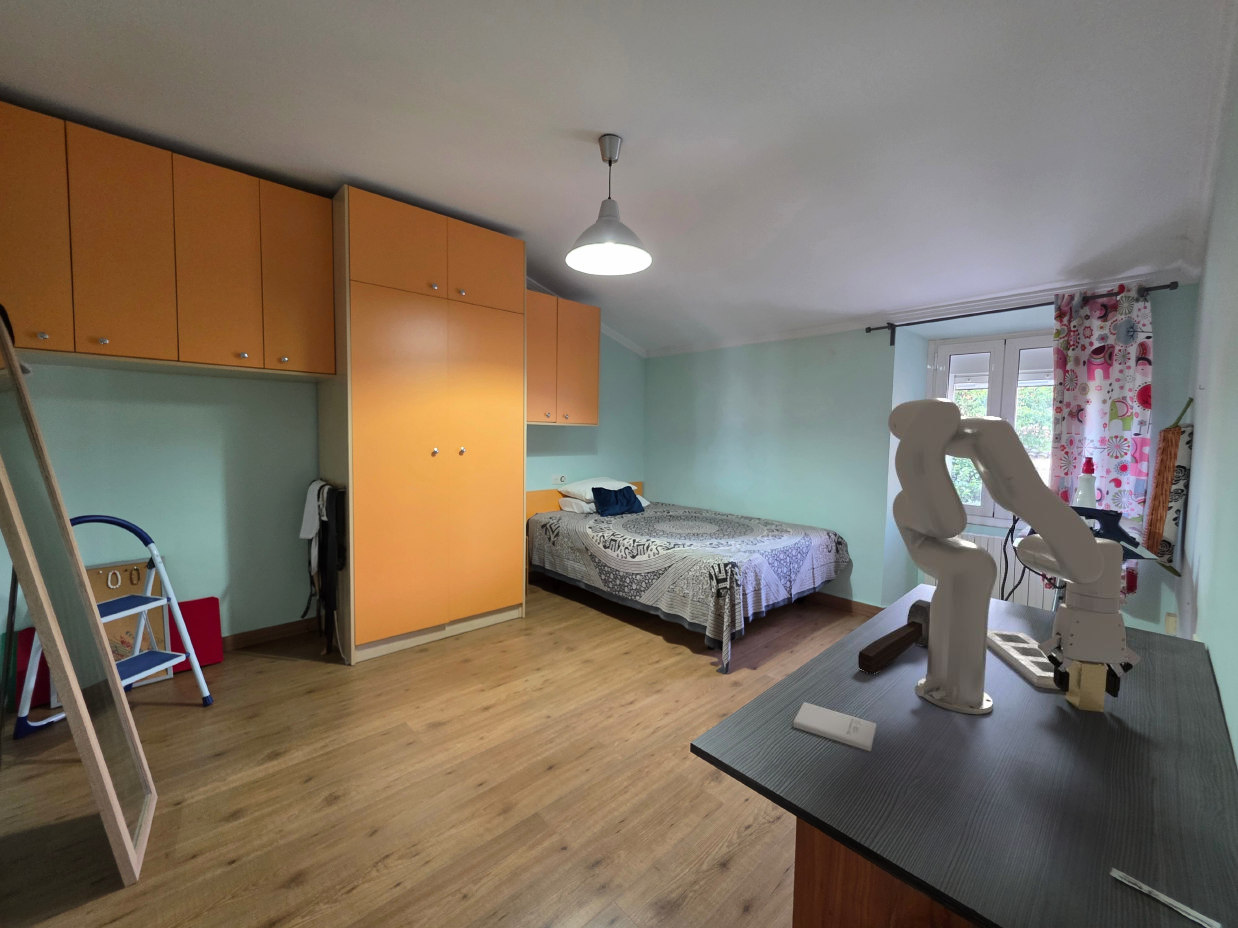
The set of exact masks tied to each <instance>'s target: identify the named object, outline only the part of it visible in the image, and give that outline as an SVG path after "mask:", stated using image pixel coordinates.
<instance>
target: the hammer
mask: <svg viewBox="0 0 1238 928" xmlns="http://www.w3.org/2000/svg"><path fill="white" fill-rule="evenodd" d="M930 605H931V601H928V600H923V599H918V600H915V601H914V602H913V603H912V604H911V605H910V607H909V609H908V614H907V618H906V619H907V620H906V623H905V624H904V625H902V626H900V627H898V628H896V629H895V630H893V631H891V632H889V633H887V634H885V635H883V636H881V637H879V638H877V639H876V640H874V641H872V642H871V643H869V644H868V645H867V646H865V647H863V649H861V650H860V651H858V652H859V653H858V658H857V659H858V660H857V661H858V668H860V669H862V670H864V671H866V672H868V673H867V674H869V673H871V674H874V673H876V672H878V671H880V670H881V671H882V670H884V669H886V668H887V667H888V666H890V665H891V663H893V662H894V661H895V660H896V659H897V658H898V657H900V656H901V655H902V654H903V653H904V652H905V651H907V649H908V650H909V648H910V647H911V646H912V645H913V644H914V643H916V644H915V645H917V644H919V645H918V646H920V645H922V646H921V647H923V646H924V648H926V647H927V649H928V642H929V624H930ZM860 669H859V670H860ZM864 671H863V672H864ZM881 671H880V672H881ZM866 672H865V673H866ZM878 673H879V672H878ZM871 674H870V675H871ZM876 674H877V673H876ZM874 675H875V674H874Z"/></svg>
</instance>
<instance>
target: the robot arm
mask: <svg viewBox="0 0 1238 928" xmlns="http://www.w3.org/2000/svg"><path fill="white" fill-rule="evenodd" d="M887 422H888V423H887V424H888V425H887V426H888V428H889V431H890V432H891V434H892V436H894V437H895V438H896V439H897V440H899V443H898V445H897V449H896V451H895V457H894V466H895V472H896V476H897V478H898V482H899V483H900V486H901V489H902V490H901V491H900V492H898V493H897V494H896V496H895V498H894V500H893V503H892V516H893V519H894V522H895V524H896V527H897V529H898V531H899V534H900V536H901V538H902V541H903V543H904V545H905V547H906V550H907V552H908V555H909V556H910V558H911V560H912V561H913V563H914V565H916V567H917V569H919V570H920V571H922V572H923V573H925V574H926V575H928V576H930V577H931V578H933V579H935V580H937V584H936V588H935V589H934V592H933V594H932V597H931V601H930V602H931V605H930V624H929V642H928V648H927V663H926V664H927V665H926V666H927V667H926V674H925V677H924V678H921V679H919V680H918V681H917V683H916V684H917V685H915V687H914V693H916V695H917V696H919V697H923V698H924V699H925V700H926V701H928V702H930V703H932V704H933V705H936V706H938V707H940V708H944V709H946V710H949V711H953V712H956V713H962V714H967V715H984V714H987V713H990V712H992V710H993V709H994V700H993V699H992V697H991V696H989V694H988V693H986V692H985V681H986V663H987V662H986V661H987V647H988V646H987V633H988V630H989V614H990V613H989V612H990V605H991V599H992V595H993V592H994V588H995V584H996V582H997V578H998V565H997V562H996V561H995V559H994V557H993V555H991V553H990V552H989V551H988V550H987V549H985V548H984V547H982V546H981V545H979V544H977V543H975V542H972V541H969V540H966V539H963V538H961V537H958V536H959V535H961V534H962V533H964V531H965V530H966V528H967V525H968V515H967V511H966V508H965V506H964V504H963V502H962V499H961V497H960V495H959V492H958V491H957V488H956V486H955V482H954V480H953V479H952V477H951V475H950V472H949V468H948V465H947V461H946V458H947V457H946V456H950V457H954V458H958V459H969V460H970V461H971V463H972V465H973V466H974V468H975V470H976V472H977V473H978V475H979V477H980V478H981V481H982V482H983V484H984V486H985V488H986V490H987V492H988V494H989V496H990V498H991V499H992V500H993V501H994V502H995V503H996V504H997V505H998V506H1000V507H1001V508H1002V509H1004V510H1005V511H1006V512H1008V513H1009V514H1011V515H1013V516H1014V517H1017V518H1018V519H1019V520H1021V521H1023V523H1025V524H1027V525H1028V526H1029V527H1030V528H1031V529H1032V530H1034V531H1035V532H1036V533H1034V534H1030V535H1027V536H1025V537H1023V538H1022V539H1021V540H1020V541H1019V542H1018V543H1017V546H1016V555H1017V557H1018V560H1019V561H1021V563H1022V564H1023V565H1025V566H1026V567H1028V568H1029V569H1032V570H1033V571H1037V572H1039V573H1042V574H1044V575H1047V576H1051V577H1054V578H1056V579H1059V580H1061V581H1065V582H1066V586H1065V587H1066V588H1065V589H1066V591H1065V603H1060V604H1059V607H1058V609H1057V611H1056V614H1055V618H1054V621H1053V627H1052V631H1051V632H1052V634H1051V638H1048V639H1047V640H1045V641H1043V642H1041V643H1039V645H1038V649H1039V650H1040V651H1041V652H1042V654H1043V655H1044V656H1045V658H1046V659H1047V660H1048V661H1049V662H1050V663H1051V664H1052V665H1053V666H1054V677H1053V681H1054V683H1055V685H1056V686H1057V687H1058V688H1060V689H1059V690H1060V691H1062V692H1063V693H1066V692H1068V691H1069V678H1070V673H1069V672H1067V671H1066V670H1067V669H1068V667H1069V666H1070V665H1071V664H1072V662H1073V661H1074V660H1076V661H1085V662H1095V663H1103V664H1104V665H1106V666H1107V673H1106V686H1105V693H1106V694H1108V695H1109V696H1111V697H1112V698H1117V699H1118V698H1119V692H1120V691H1121V678H1124V677H1125V676H1126V673H1127V672H1129V671H1131V670H1133V668H1134V666H1135V665H1137V664H1138V663H1139V662H1141V661H1142V656H1140V654H1138V653H1136V651H1134V650H1132V648H1130V647H1128V646H1127V636H1126V625H1125V621H1124V617H1123V613H1122V612H1121V610H1120V609H1121V608H1120V607H1121V606H1122V607H1123V606H1127V600H1126V599H1125V598H1123V597H1122V598H1121V586H1122V585H1121V584H1122V570H1123V569H1122V568H1123V558H1124V557H1123V556H1124V550H1123V546H1122V544H1120V543H1119V542H1117V541H1115V540H1112V539H1107V538H1101V537H1095V536H1094V534H1093V532H1092V530H1091V529H1090V527H1089V526H1088V524H1087V522H1085V520H1084V519H1083V517H1082V516H1080V514H1078V513H1077V512H1076V511H1075V510H1074V509H1073V508H1072V507H1071V506H1070V505H1069V504H1067V502H1066V501H1065V500H1063V498H1061V497H1060V496H1059V495H1058V494H1057V493H1056V492H1055V491H1054V490H1053V489H1051V488H1050V487H1049V486H1048V485H1047V484H1046V483H1045V482H1044V480H1043V478H1042V477H1041V475H1040V474H1039V472H1038V469H1037V468H1036V467H1035V464H1034V463H1033V461H1032V459H1031V457H1030V455H1029V453H1028V452H1027V450H1026V448H1025V446H1024V445H1023V442H1022V441H1021V439H1020V437H1019V435H1018V434H1017V431H1016V429H1014V427H1013V426H1012V424H1011V423H1010V422H1008V421H1007V420H1006V419H1004V418H1001V417H995V416H973V417H972V416H971V417H970V416H969V417H967V416H966V417H965V416H962V413H961V409H960V407H958V405H957V404H956V403H955V402H954V401H952V400H950V399H948V398H941V397H930V398H924V399H923V398H922V399H917V400H910V401H905V402H903V403H900V404H898V405H896V406H895V407H894V408H893V409H892V410H891V412H890V414H889V416H888V421H887ZM1052 650H1053V651H1055V652H1057V653H1056V654H1055V655H1056V656H1054V655H1053V654H1052V653H1053V652H1052Z"/></svg>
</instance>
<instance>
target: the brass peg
mask: <svg viewBox="0 0 1238 928" xmlns="http://www.w3.org/2000/svg"><path fill="white" fill-rule="evenodd" d="M1068 672H1069V673H1070V678H1069V691H1068V692H1065V700H1067V701H1068V702H1069V703H1070V704H1071V705H1073V706H1074V707H1076V708H1077V709H1078V710H1083V711H1092V712H1100V713H1104V710H1105V700H1106V699H1105V698H1106V697H1105V696H1106V692H1105V686H1106V673H1107V666H1106V665H1105V664H1104V663H1095V662H1085V661H1076V660H1074V661H1073V662H1072V664H1071V665H1070V666H1069V667H1068Z"/></svg>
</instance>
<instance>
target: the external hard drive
mask: <svg viewBox="0 0 1238 928" xmlns="http://www.w3.org/2000/svg"><path fill="white" fill-rule="evenodd" d="M877 725H878V724H877V723H875V722H872V721H869V720H865V719H862V718H859V717H856V716H852V715H850V714H849V715H848V714H845V713H842V712H840V711H835V710H832V709H829V708H825V707H822V706H820V705H816V704H813V703H809V702H806V701H803V703H802V704H801V707H800V709H799V710H798V711H797V715H796V716H795V718H794V720H793V725H792V726H793V728H796V729H799V730H802V731H806V732H808V733H812V734H814V735H818V736H821V737H824V738H828V739H831V740H834V741H837V742H839V743H844V744H845V745H849V746H853V747H856V748H858V749H862V750H865V751H867V752H871V751H872V748H873V744H874V738H875V736H876V731H877Z"/></svg>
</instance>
